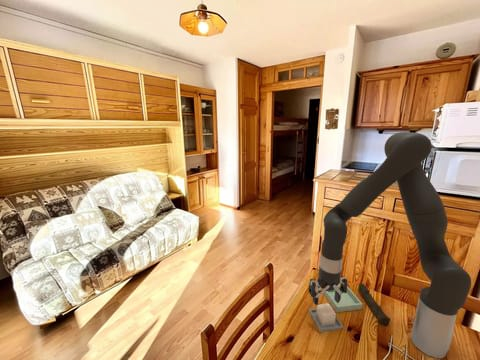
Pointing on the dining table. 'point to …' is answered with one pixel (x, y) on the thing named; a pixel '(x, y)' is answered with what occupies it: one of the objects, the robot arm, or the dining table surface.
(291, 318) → the dining table surface
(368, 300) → the hand tool
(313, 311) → the bin
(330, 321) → the beige block
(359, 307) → the bin
